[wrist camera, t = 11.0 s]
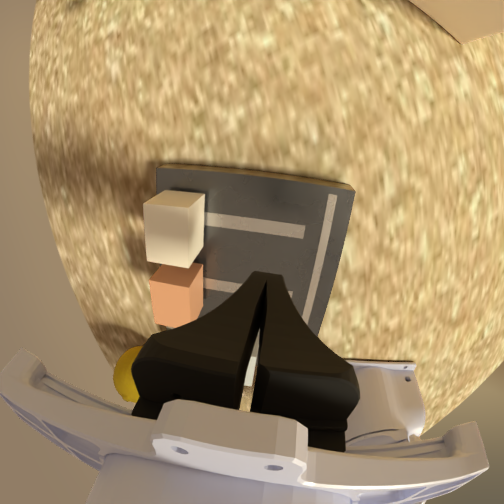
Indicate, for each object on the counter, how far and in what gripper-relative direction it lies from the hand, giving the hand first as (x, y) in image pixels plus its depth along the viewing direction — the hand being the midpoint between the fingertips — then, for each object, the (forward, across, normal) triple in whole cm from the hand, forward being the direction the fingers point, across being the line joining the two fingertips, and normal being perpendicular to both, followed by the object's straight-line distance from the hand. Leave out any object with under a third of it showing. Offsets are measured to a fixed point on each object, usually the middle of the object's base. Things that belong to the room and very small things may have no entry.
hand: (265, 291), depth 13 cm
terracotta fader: (+7, +7, +5) cm, 11 cm away
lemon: (+10, +12, +18) cm, 24 cm away
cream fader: (+7, +7, 0) cm, 10 cm away
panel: (+10, +2, +6) cm, 12 cm away
